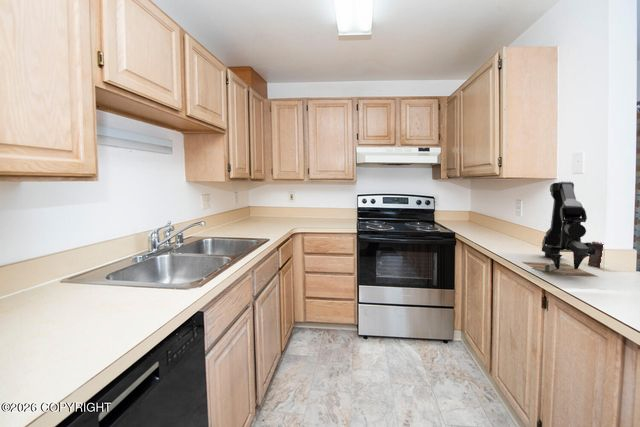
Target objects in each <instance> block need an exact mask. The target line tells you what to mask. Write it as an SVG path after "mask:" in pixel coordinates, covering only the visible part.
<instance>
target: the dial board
mask: <svg viewBox="0 0 640 427" xmlns="http://www.w3.org/2000/svg"><path fill="white" fill-rule="evenodd" d="M521 263H523V264H525V265H527V266H529V267H531V269H533V270H535V271H539V272H542V273H544V274H545V275H548V276H563V277H565V276H569V277H570V276H571V277H597V278H599V275H596V274H594V273H591V272H589V271H586V270H583V269H581V268H578V269H574V265H571V264H568V263H565V262H560V268H559V269H554V270H552V271H548V272H547V271H545V265H546V264H548V263H549V262H540V261H539V262H536V261H535V262H534V261H522V262H521Z"/></svg>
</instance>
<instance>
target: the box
mask: <svg viewBox="0 0 640 427" xmlns="http://www.w3.org/2000/svg"><path fill="white" fill-rule="evenodd" d="M591 243H592V244H593V247H594V248H595V250H596V254H589V255H590V256H588V263H587V267H588V266H589V267H594V268H597V269H600V268H601V265H600V263H601V264H602V259H601V257H602V258H603V253H602V251H603V252H604V247H603V245H604V244H605V243H604V244H602V243H603V242H600V243H599V241H592V242H591Z"/></svg>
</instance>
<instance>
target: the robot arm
mask: <svg viewBox="0 0 640 427" xmlns="http://www.w3.org/2000/svg"><path fill="white" fill-rule="evenodd" d="M574 187H575V184H574V182H573V181H559V182H553V183H551V184H550V185H549V192H550V195H551V198H552V199H553V206H552V214H551V220H550V222H551V223H550V228H549V229H548V230H547V231H546V232H545V235H544V237H543V239H542V242H541V252H543V253H544V257H545V258H547V259H551V260H552V262H554V265H555V267H556V269H559V265H560V263H561V257H562V256H563V254H561V253H565V252H567V253H572V254H573V267H574V269H579V267H580V265H581V264H582V262H583V260H584V259H585V258H587V257H589V256H590V254H596V250H595V248H594V247H593V244H592V242H582V241H581V240H582V239H581V238H582V237H584V236H585V235H586V234H587V233H586V232H587V230H586V227H585V226H584V225H583V224H581V223H586V221H587V219H588V217H587V211H586V209H585V208H584V206H583V204H582V203H581V202H580V201H578V200H577V198H576V194H575V191H574V189H575V188H574Z"/></svg>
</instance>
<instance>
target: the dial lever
mask: <svg viewBox="0 0 640 427" xmlns="http://www.w3.org/2000/svg"><path fill="white" fill-rule="evenodd" d="M547 263H548V264H546V265H545V271H547V272H548V271H552V270H554V269H556V267H555V265H554V262H553V261H551V262H547ZM559 268H560V265H559Z"/></svg>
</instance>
